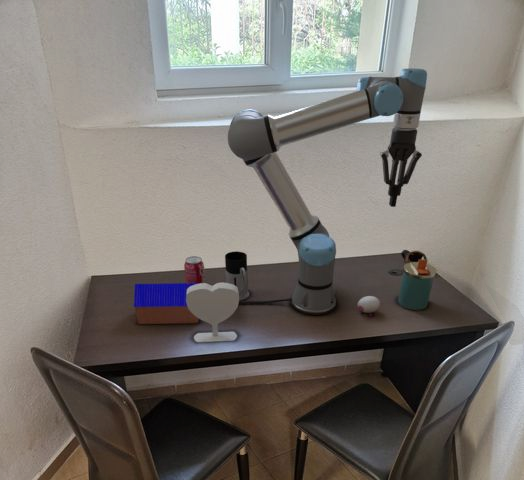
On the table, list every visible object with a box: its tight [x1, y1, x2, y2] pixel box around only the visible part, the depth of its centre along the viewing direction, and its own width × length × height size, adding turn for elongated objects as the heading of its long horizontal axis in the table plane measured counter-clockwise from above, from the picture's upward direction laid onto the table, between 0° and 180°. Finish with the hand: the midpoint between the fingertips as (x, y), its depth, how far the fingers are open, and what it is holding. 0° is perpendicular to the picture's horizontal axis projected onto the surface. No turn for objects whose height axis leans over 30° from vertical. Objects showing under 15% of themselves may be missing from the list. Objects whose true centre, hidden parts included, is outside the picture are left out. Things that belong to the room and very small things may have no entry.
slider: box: [417, 259, 429, 274], centre depth 151 cm, size 4×3×3 cm
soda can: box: [183, 255, 206, 284], centre depth 166 cm, size 7×7×12 cm
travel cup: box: [397, 261, 437, 311], centre depth 158 cm, size 11×11×14 cm
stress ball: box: [357, 295, 381, 317], centre depth 156 cm, size 8×8×7 cm
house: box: [133, 282, 200, 325], centre depth 152 cm, size 12×20×12 cm, turn 92°
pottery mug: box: [401, 249, 428, 264], centre depth 183 cm, size 12×10×8 cm
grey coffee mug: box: [224, 250, 250, 301], centre depth 160 cm, size 9×14×15 cm, turn 20°
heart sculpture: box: [186, 282, 240, 343], centre depth 139 cm, size 16×5×18 cm, turn 94°
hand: (392, 205), depth 154 cm, fingers closed
